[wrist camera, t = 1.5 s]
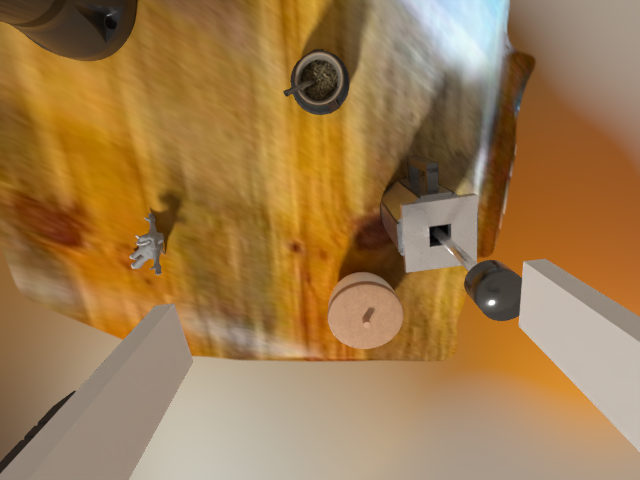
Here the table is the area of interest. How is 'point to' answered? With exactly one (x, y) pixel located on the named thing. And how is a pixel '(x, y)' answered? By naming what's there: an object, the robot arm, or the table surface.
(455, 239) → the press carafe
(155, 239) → the grey animal figurine
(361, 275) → the lidded jar
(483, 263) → the plunger
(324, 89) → the mate gourd
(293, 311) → the table surface
